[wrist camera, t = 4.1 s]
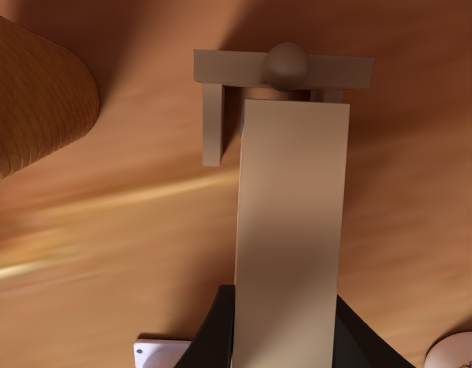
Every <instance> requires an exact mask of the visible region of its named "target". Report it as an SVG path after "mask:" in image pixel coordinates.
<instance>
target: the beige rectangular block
mask: <svg viewBox="0 0 472 368" xmlns="http://www.w3.org/2000/svg"><path fill="white" fill-rule="evenodd" d="M349 112H350V104H348V103H328V102H308V101H287V100H267V99H246V98H244V102H243V110H242V119H241V136H240V137H241V154H240V175H239V196H238V217H237V237H236V258H235V279H234V285H235V315H234V333H233V351H232V360H231V368H332V355H333V340H334V326H335V312H336V298H337V283H338V269H339V255H340V241H341V226H342V212H343V198H344V184H345V169H346V155H347V141H348V127H349Z"/></svg>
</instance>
